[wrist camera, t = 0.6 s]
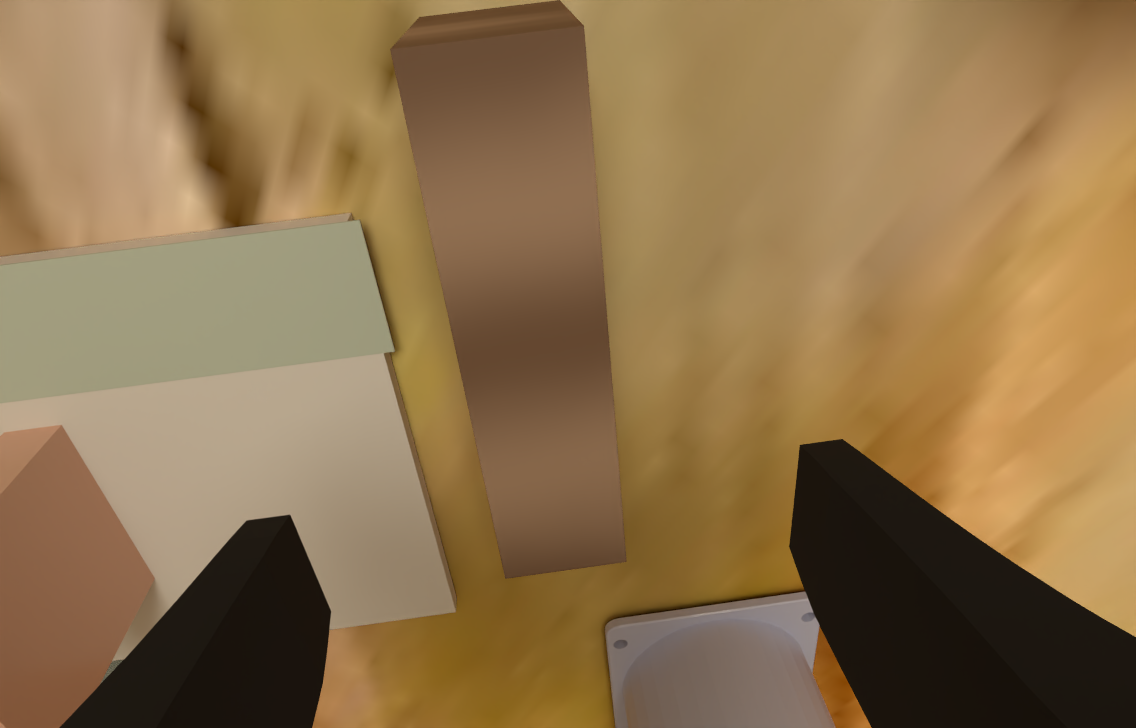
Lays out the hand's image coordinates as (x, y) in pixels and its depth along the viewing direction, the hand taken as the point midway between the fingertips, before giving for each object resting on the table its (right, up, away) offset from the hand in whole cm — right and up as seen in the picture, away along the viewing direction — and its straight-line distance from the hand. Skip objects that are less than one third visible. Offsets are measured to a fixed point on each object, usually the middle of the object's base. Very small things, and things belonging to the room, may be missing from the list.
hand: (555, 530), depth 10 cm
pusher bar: (-1, +5, +8) cm, 10 cm away
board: (-13, -1, +10) cm, 16 cm away
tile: (-14, -2, +10) cm, 17 cm away
